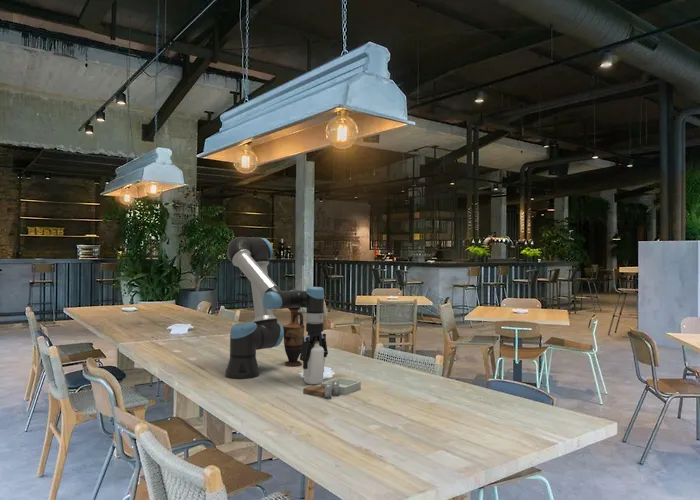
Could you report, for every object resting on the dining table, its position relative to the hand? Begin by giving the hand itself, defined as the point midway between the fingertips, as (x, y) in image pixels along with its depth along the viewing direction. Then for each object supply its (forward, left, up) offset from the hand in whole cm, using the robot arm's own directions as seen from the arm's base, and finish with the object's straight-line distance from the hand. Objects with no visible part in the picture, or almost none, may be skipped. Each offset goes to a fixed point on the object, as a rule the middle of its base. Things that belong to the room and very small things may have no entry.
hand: (313, 374), depth 217 cm
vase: (-30, +22, -4) cm, 37 cm away
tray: (+16, -2, -4) cm, 17 cm away
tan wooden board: (+12, -13, -4) cm, 18 cm away
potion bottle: (0, 0, -4) cm, 4 cm away
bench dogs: (+19, -13, -4) cm, 23 cm away
